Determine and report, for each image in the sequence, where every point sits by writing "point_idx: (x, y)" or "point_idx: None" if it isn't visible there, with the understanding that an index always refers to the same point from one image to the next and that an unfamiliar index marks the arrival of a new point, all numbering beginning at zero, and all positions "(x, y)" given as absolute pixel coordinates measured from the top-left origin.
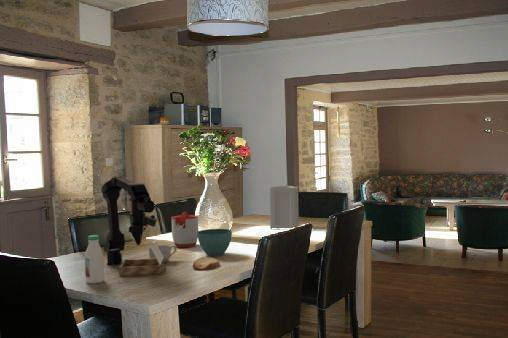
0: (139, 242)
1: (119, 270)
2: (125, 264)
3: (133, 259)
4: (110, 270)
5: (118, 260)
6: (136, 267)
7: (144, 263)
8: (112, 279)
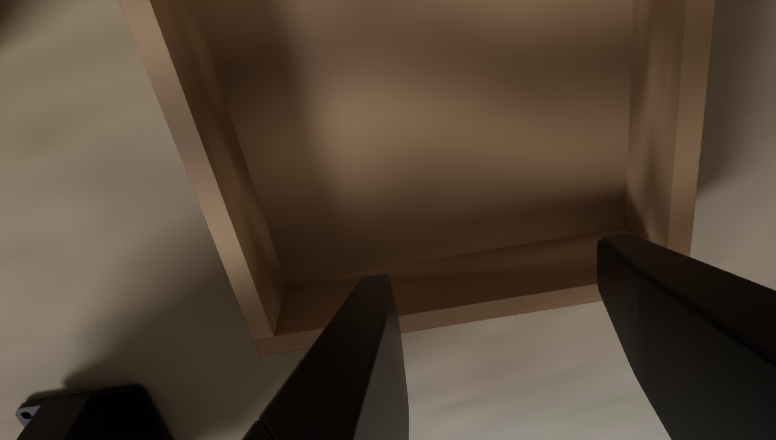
0: (695, 270)
1: None
2: None
3: (232, 266)
4: None
5: (106, 427)
6: (703, 74)
7: (211, 101)
8: (758, 252)
